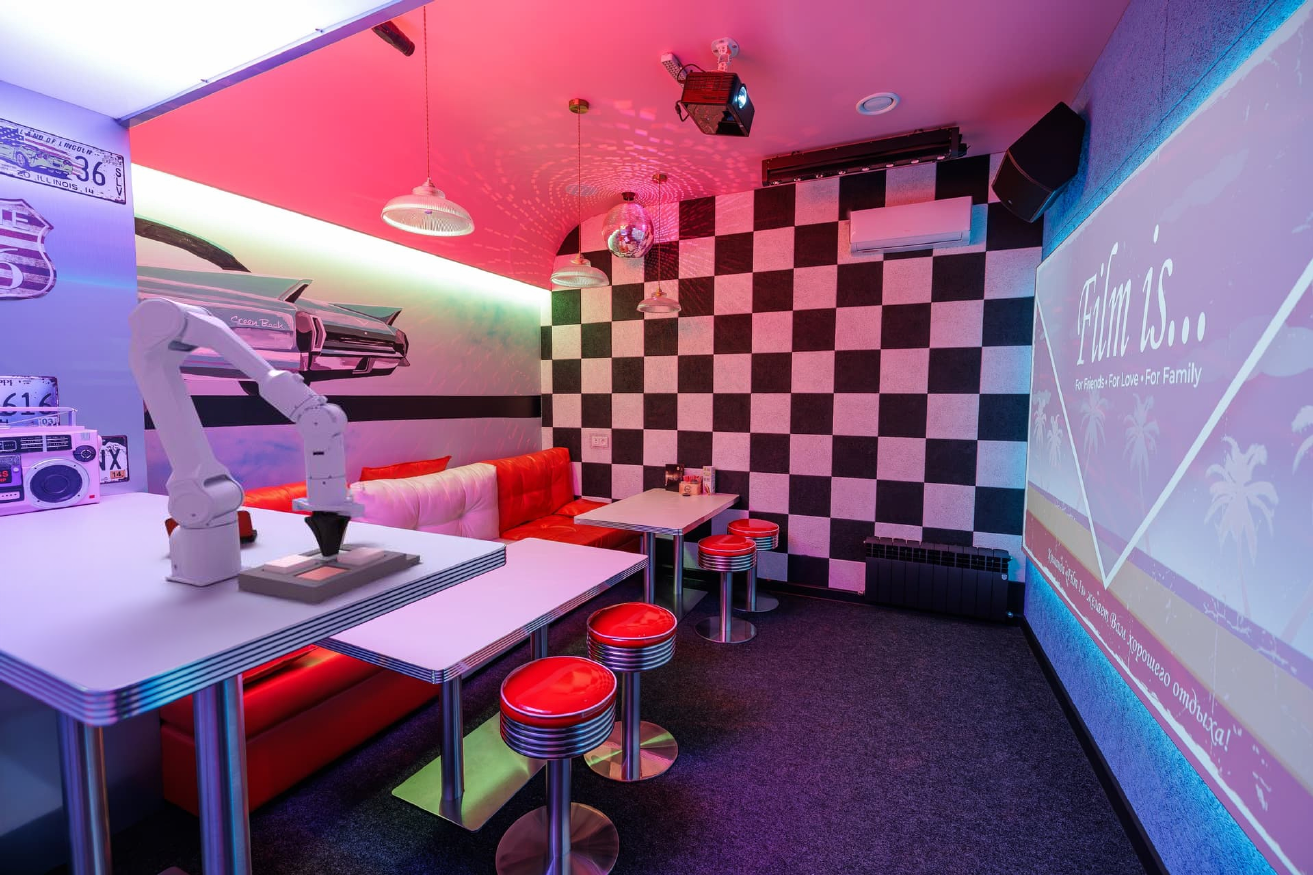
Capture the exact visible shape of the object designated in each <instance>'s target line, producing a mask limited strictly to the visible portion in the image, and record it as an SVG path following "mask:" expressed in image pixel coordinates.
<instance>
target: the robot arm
mask: <svg viewBox="0 0 1313 875" xmlns="http://www.w3.org/2000/svg"><path fill="white" fill-rule="evenodd" d="M126 320H127V323H128V325H129V328H130V330H131V332H130V333H131V334H130V340H129V348H128V355H127V362H128V364H129V367H130V369H131V373H132V375H133V377H134V379H135V381H136V384H137V387H138V390H139V392H140V393H141V396H142V400H143V401H144V404H145V406H146V408H147V410H148V413H149V416H150V417H151V420H152V422H153V425H154V428H155V430H156V433H157V435H158V438H159V440H160V442H161V444H162V448H163V450H164V452H165V455H166V457H167V459H168V461H169V462H168V463H169V464H170V466H171V469H172V472H171V474H170V475H169V477H168V480H167V482H166V483H165V488H166V490H167V493H168V502H167V510H168V514H169V515H170V518H173V520H174V521H176V522H177V523H179V525H178V526H177V527H176V528H175V529H174V530H173V531H172V533H171V535H170V538H169V537H168V543H169V554H170V555H169V556H170V567H171V569H170V570H171V574H170V573H169V574H166V575H165V579H166V580H170V581H174V582H175V581H176V582H179V583H184V584H190V585H194V586H198V587H199V586H200V587H204V586H207V585H211V584H215V583H217V582H221V581H223V580H228V579H231V578H234V577H238V574H237V573H239V572H242V571H246V570H249V569H252V568H255V567H254V566H248V565H244V564H242V554H241V543H240V539H239V526H238V515H237V511H238V510H239V509H240V508H241V507H242V505H243V504H244V502H245V497H246V496H245V491H244V488H243V487H242V485H241V484H240V483H239V482H238V481H237V480H235V478H233V476H232V475H231V472H230V470H229V468H228V467H226V466H225V465H223V463H221V462H219V461H218V460H217V459H216V457H215V454H214V452H213V450H212V447H211V444H210V443H209V440H208V437H207V435H206V432H205V430H204V427H203V425H202V423H201V422H202V421H201V419H200V417H199V414H198V412H197V410H196V407H195V404H194V401H193V399H192V397H191V395H190V392H189V390H188V387H187V384H186V381H185V378H184V377H183V374H182V372H181V369H180V367H181V365H182V364H183V362H185V360H186V359H187V357H188V356H189V355H190V354H193V352H195V351H197V350H198V349H200V348H204V349H209V350H212V351H214V352H215V353H217V354H218V355H219V356H220V357H222V358H223V359H225V360H226V361H227V362H229V363H230V364H231V365H232V366H234V367H235V368H237V369H238V370H240V372H242V373H244V374H245V375H246V376H247V377H248V378H250V379H252V380H253V381H254V382H256V383H257V384H258V392H259V396H261V398H263V399H264V400H265V401H266V402H267V403H268V404H270V405H271V406H273V407H274V408H275V409H276V410H278V411H279V412H280V413H281V414H282V415H284V416H285V417H286V418H288V420H290V421H291V422H293V423H295V429H296V431H297V433H298V434H299V435H300V437H302V438H303V444H304V446H303V448H304V466H305V469H304V470H305V484H306V485H305V486H306V497H299V498H295V499H292V500H291V501H292V502H291V503H292V504H291V506H292V511H293V512H300V511H305V512H312V513H311V515H309V516H305V517H304V518H303V519H304V522H305V524H306V525H307V526H308V527H309V529H310V530H311V532H312V534H313V535H314V537H315V540H316V542H317V545H318V548H320V550H321V553H322V556H326V557H330V556H333V555H336V554H339V550H340V545H341V541H342V537H343V534H344V531H345V529H346V526H347V524H348V525H349V522H350V521H351V520H352V519H356V518H360V517H365V516H366V507H365V506H366V505H365V503H359V502H356V501H352V498H349V497H347V489H346V486H347V484H346V483H347V474H346V473H347V472H346V457H345V446H344V434H343V433H344V432H345V431H346V429H347V426H348V417H347V415H346V413H345V412H344V410H343V409H342V408H341V407H340V405H338V404H335V403H327V402H328V398H327V397H326V396H325V395H319V394H318V393H316V392H315V390H313V389H311V388H310V386H308V385H307V384H306V383H304V381H305V378H304V376H302V375H301V374H300V373H292V372H291V371H290V370H276V369H275V368H274V366H272V365H271V364H270V363H269V362H268V361H267V360H265V359H264V357H262V356H261V355H260V354H259V353H258V352H257V351H256V350H254V349H253V348H252V347H251V346H250V345H249V344H248V343H247V342H246V341H244V339H242V338H241V337H240V336H239V335H238V334H237V333H236V332H234V330H232V329H231V328H230V327H229V325H227V323H226V322H224V321H223V320H221V319H220V318H218V317H216V316H214V315H213V313H211V312H210V311H209V310H207V308H204V307H203V306H199V305H193V304H192V305H190V304H186V303H181V302H178V301H173V300H171V299H168V298H166V297H165V298H164V297H161V296H159V297H158V296H156V297H155V296H152V297H149V298H146V299H144V300H142V301H140V302H139V303H138V304H137V306H136V307H134V308H133V310H132V312H130V314H129V315H128V316H127V317H126ZM347 527H348V526H347Z"/></svg>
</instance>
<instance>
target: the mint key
mask: <svg viewBox="0 0 1313 875" xmlns="http://www.w3.org/2000/svg"><path fill="white" fill-rule="evenodd" d="M346 552H349V551H342V550H339V554H336V555H333V556H330V557H326V556H322V553H319V554H316V555H313V556H310V557H313V558H315V559H319V560H326V561H328V560H331V559H334V558H337V555H340V554H343V553H346Z"/></svg>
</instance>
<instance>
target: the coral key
mask: <svg viewBox="0 0 1313 875" xmlns="http://www.w3.org/2000/svg"><path fill="white" fill-rule="evenodd" d="M344 571H346V570H344V569H338V568H332V567H326V566H325V567H322V568H319V569H316V570H313V571H310V572H307V573H304V574H302V575H299V576H296V577H300V578H305V579H311V580H316V581H319V580H322V579H324V578H327V577H330V576H333V575H335V574H338V573H341V572H344Z"/></svg>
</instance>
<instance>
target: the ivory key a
mask: <svg viewBox="0 0 1313 875" xmlns="http://www.w3.org/2000/svg"><path fill="white" fill-rule="evenodd" d="M263 565H264V571H267V572H272V573H278V574H283V575H286V574H289V573H292V572H295V571H298V570H301V569H304V568H307V567H310V566H313V565H315V558H313V557H306V556H300V555H298V554H292V555H288V556H285V557H281V558H278V559H274V560H271V561H268V562H265V563H263Z"/></svg>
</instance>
